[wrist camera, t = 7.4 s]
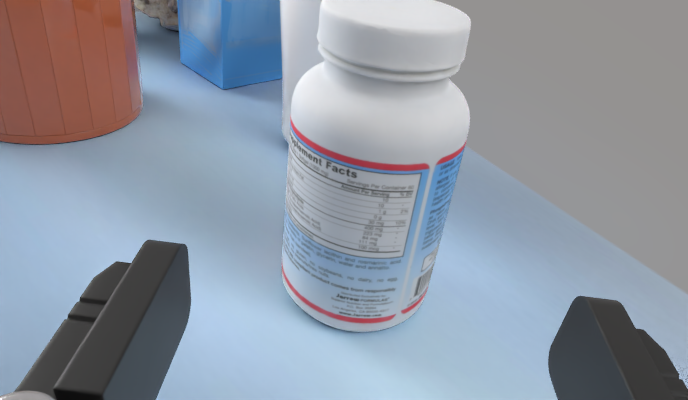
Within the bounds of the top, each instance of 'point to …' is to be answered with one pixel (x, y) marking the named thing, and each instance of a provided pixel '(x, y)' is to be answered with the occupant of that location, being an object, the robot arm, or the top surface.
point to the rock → (161, 11)
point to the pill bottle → (373, 160)
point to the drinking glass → (297, 48)
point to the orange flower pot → (67, 69)
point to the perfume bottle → (231, 40)
